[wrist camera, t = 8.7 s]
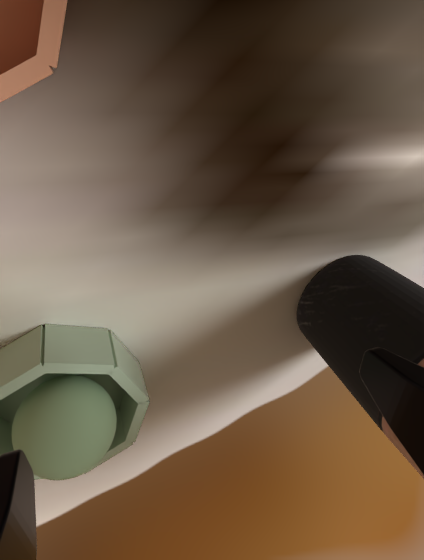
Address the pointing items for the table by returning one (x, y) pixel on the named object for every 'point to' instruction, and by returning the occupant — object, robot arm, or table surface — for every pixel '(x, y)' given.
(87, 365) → the green cup
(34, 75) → the terracotta cup
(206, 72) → the table surface
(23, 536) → the robot arm
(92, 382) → the ball
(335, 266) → the travel mug
